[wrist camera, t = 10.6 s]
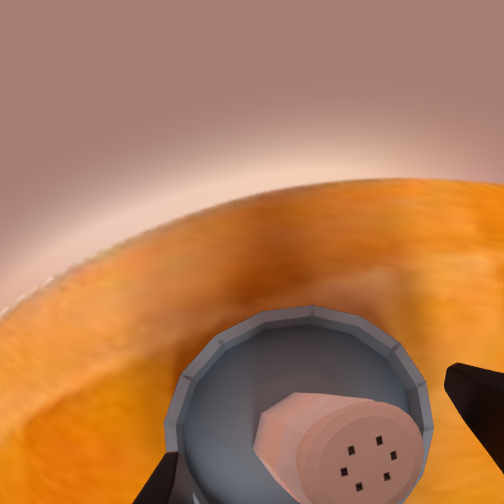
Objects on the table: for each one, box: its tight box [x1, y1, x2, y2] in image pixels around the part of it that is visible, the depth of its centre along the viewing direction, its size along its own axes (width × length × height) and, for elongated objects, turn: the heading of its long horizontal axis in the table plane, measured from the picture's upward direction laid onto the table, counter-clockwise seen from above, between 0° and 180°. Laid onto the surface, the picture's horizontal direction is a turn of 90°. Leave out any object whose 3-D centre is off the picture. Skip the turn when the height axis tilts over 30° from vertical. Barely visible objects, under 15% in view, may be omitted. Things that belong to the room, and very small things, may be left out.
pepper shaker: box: [253, 392, 424, 504], centre depth 10 cm, size 5×5×11 cm
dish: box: [164, 305, 434, 504], centre depth 14 cm, size 14×14×2 cm
